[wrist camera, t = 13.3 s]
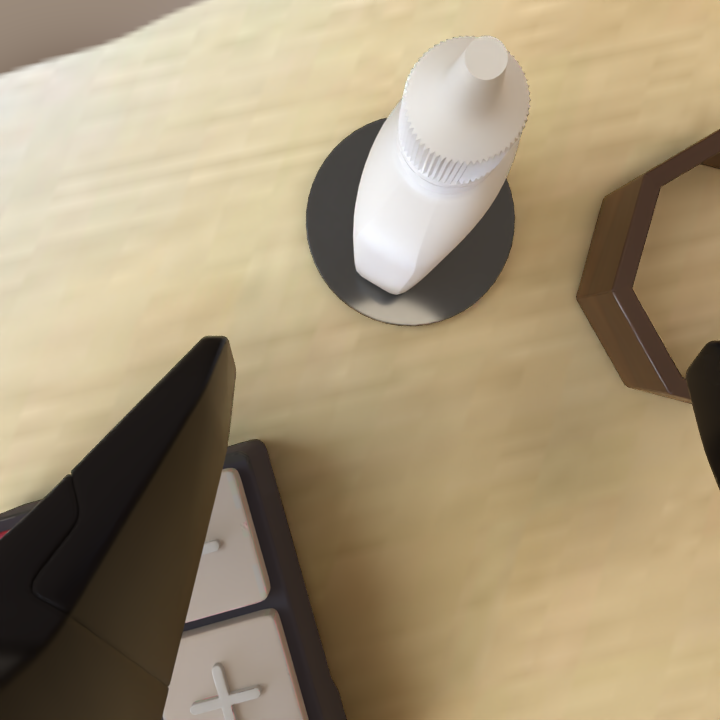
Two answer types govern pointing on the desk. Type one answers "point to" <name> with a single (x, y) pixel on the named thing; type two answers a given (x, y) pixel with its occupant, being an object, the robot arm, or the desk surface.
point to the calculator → (246, 610)
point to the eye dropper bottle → (438, 159)
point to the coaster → (440, 286)
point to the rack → (618, 270)
